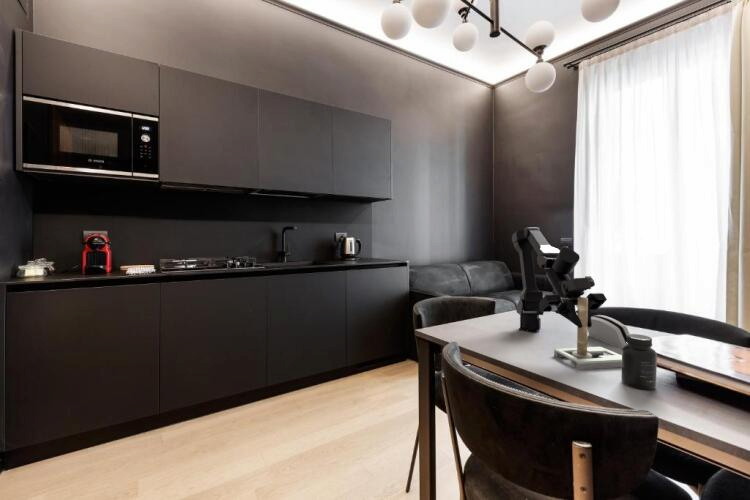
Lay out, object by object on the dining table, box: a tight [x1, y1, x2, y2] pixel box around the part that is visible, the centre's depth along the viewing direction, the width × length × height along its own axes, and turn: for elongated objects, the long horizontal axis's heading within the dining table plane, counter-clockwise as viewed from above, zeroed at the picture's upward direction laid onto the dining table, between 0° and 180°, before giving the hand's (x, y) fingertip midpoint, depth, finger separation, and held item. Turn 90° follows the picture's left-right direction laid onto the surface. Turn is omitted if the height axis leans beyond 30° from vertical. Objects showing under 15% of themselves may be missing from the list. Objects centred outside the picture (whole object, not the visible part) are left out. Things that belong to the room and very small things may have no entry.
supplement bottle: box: [620, 333, 658, 391], centre depth 85 cm, size 7×7×12 cm
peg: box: [572, 296, 593, 359], centre depth 101 cm, size 5×5×17 cm
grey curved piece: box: [587, 314, 630, 350], centre depth 119 cm, size 17×5×10 cm, turn 5°
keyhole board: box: [553, 346, 622, 370], centre depth 102 cm, size 15×11×2 cm
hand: (585, 327), depth 99 cm, fingers closed on peg, 2 cm apart
